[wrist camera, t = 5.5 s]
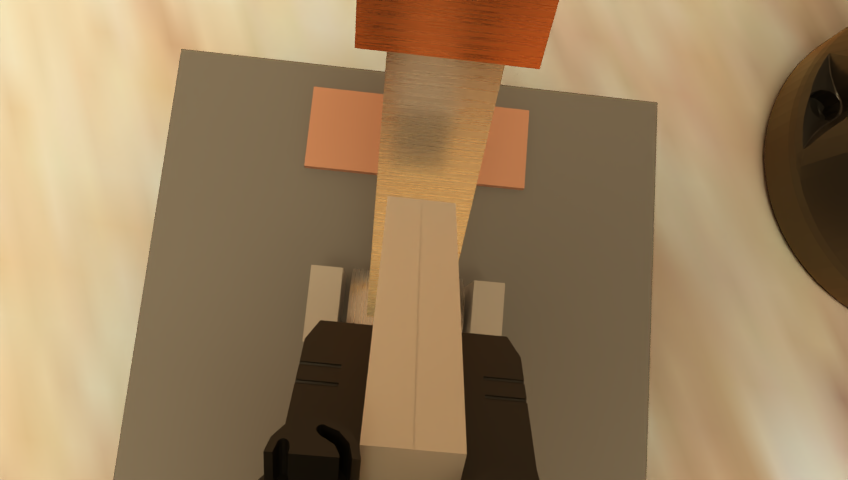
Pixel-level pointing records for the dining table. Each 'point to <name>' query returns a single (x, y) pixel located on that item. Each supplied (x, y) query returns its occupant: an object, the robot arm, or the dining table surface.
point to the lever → (439, 103)
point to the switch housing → (351, 249)
